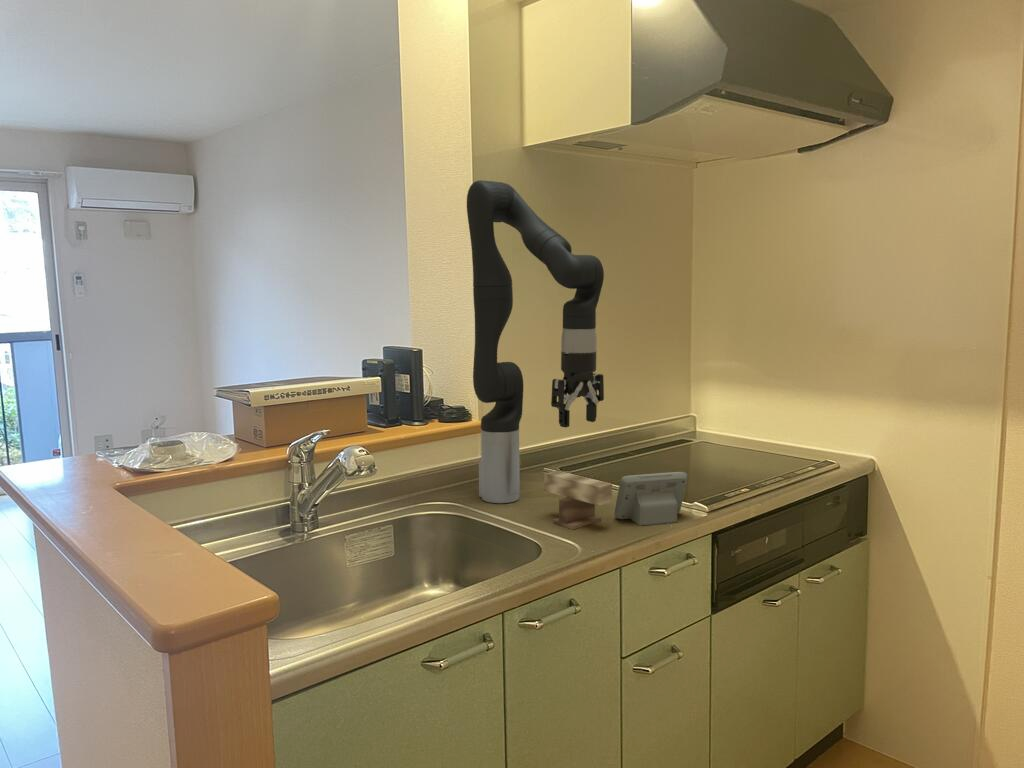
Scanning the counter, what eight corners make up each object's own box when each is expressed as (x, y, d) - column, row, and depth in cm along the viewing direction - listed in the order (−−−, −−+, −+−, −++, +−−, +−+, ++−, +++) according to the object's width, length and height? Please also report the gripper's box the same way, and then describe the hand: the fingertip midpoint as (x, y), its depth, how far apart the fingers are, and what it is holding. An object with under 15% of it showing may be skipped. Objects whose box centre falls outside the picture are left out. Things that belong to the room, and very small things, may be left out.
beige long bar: (544, 490, 175) (544, 473, 174) (556, 487, 178) (556, 470, 177) (599, 505, 164) (599, 487, 163) (611, 501, 166) (611, 483, 166)
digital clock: (681, 512, 178) (682, 467, 177) (692, 524, 169) (693, 477, 168) (610, 514, 177) (611, 468, 176) (618, 526, 168) (619, 478, 167)
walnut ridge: (553, 523, 171) (553, 497, 170) (580, 514, 177) (580, 489, 176) (573, 529, 166) (573, 503, 165) (600, 520, 172) (601, 495, 172)
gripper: (587, 346, 174) (586, 417, 176) (542, 350, 164) (542, 426, 166) (613, 348, 168) (612, 422, 171) (569, 353, 159) (568, 431, 161)
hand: (577, 424), depth 168 cm, fingers open, 8 cm apart
